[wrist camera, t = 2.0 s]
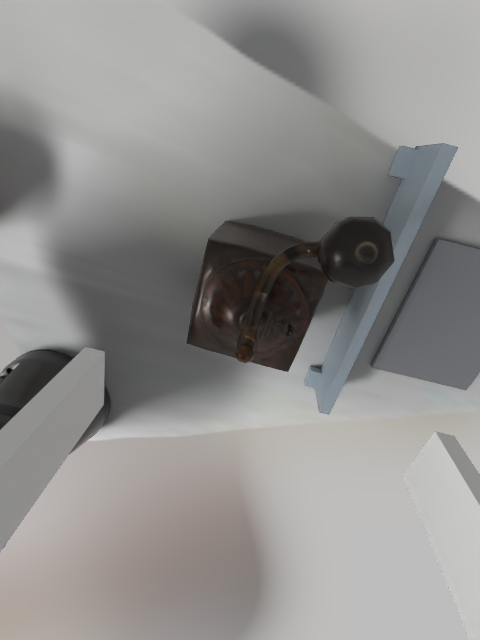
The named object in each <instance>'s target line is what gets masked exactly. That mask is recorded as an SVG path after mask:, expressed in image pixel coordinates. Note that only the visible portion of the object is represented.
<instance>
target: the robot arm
mask: <svg viewBox="0 0 480 640" xmlns="http://www.w3.org/2000/svg"><path fill="white" fill-rule="evenodd" d="M104 375H105V351H101V350H97V349H93V348H89V347H85V348H84V349H83V350H82V351H81V352H80V353H79V354H78V355H76V356H75V357H74V358H72V357H69V356H67V355H64V354H61V353H57V352H53V351H32V352H28V353H25V354H23V355H21V356H19V357H18V358H17V359H16V360H14V361H13V362H12V363H10V364H9V365H8V366H6V367H5V368H4V370H3V371H2V372H1V373H0V551H1V550H2V549H3V548H4V547H5V545H6V543H7V542H8V540H9V539H10V537H11V536H12V534H13V533H14V532H15V530H16V529H17V527H18V526H19V525H20V523H21V522H22V520H23V519H24V517H25V516H26V515H27V513H28V512H29V510H30V509H31V507H32V506H33V505H34V503H35V502H36V500H37V499H38V498H39V496H40V495H41V493H42V492H43V490H44V489H45V488H46V486H47V484H48V483H49V482H50V480H51V479H52V478H53V476H54V475H55V473H56V472H57V470H58V469H59V468H60V466H61V465H62V463H63V462H64V461H65V459H66V458H67V456H68V455H69V454H71V453H72V452H73V451H74V450H76V449H77V448H78V447H79V446H81V445H82V444H83V443H85V442H86V441H87V440H88V439H90V438H91V437H92V436H94V435H95V434H96V433H97V432H98V431H99V429H100V428H101V426H102V425H103V423H104V422H105V420H106V419H107V417H108V415H109V411H110V399H109V395H108V392H107V390H106V388H105V386H104ZM403 478H404V480H405V483H406V485H407V488H408V490H409V493H410V495H411V497H412V500H413V502H414V505H415V507H416V510H417V512H418V515H419V517H420V519H421V522H422V524H423V527H424V529H425V532H426V534H427V536H428V539H429V541H430V544H431V546H432V549H433V551H434V553H435V556H436V558H437V560H438V563H439V566H440V568H441V571H442V573H443V575H444V578H445V580H446V583H447V585H448V588H449V590H450V592H451V595H452V597H453V600H454V602H455V604H456V607H457V610H458V612H459V614H460V617H461V619H462V622H463V624H464V627H465V629H466V631H467V634H468V636H469V639H470V640H480V474H479V473H478V471H477V470H476V468H475V467H474V465H473V464H472V463H471V461H470V459H469V458H468V456H467V455H466V453H465V452H464V450H463V449H462V447H461V446H460V444H459V443H458V441H457V440H456V438H455V437H454V436H452V435H447V434H443V433H440V432H434V434H433V435H432V437H431V438H430V439H429V441H428V442H427V444H426V445H425V446H424V448H423V449H422V450H421V452H420V453H419V455H418V456H417V457H416V459H415V460H414V461H413V463H412V464H411V465H410V467H409V468H408V470H407V471H406V472H405V474H404V475H403Z"/></svg>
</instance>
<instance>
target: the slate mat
mask: <svg viewBox="0 0 480 640" xmlns="http://www.w3.org/2000/svg"><path fill="white" fill-rule="evenodd" d="M371 366H372V368H376V369H381V370H385V371H389V372H393V373H397V374H401V375H405V376H410V377H414V378H418V379H422V380H426V381H430V382H434V383H439V384H443V385H447V386H451V387H455V388H459V389H463V390H467V388H468V387H469V385H470V384H471V383H472V381H473V380H474V379H475V377H476V376H477V374H478V373H479V372H480V249H478V248H474V247H470V246H466V245H462V244H458V243H454V242H450V241H446V240H442V239H438V238H436V239H435V241H434V243H433V245H432V247H431V249H430V251H429V253H428V255H427V257H426V259H425V261H424V262H423V264H422V266H421V268H420V270H419V272H418V274H417V276H416V278H415V280H414V282H413V284H412V286H411V288H410V290H409V292H408V293H407V295H406V297H405V299H404V301H403V303H402V305H401V307H400V309H399V311H398V313H397V315H396V317H395V319H394V321H393V323H392V325H391V326H390V328H389V330H388V332H387V334H386V336H385V338H384V340H383V342H382V344H381V346H380V348H379V350H378V352H377V354H376V356H375V358H374V359H373V361H372V363H371Z"/></svg>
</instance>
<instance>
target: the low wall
mask: <svg viewBox="0 0 480 640" xmlns="http://www.w3.org/2000/svg"><path fill="white" fill-rule="evenodd" d="M457 149H458V147H455V146H451V145H448V144H443V143H442V144H433V145H424V146H416V147H415V149H414V148H410V147H406V146H399V148H398V151H397V153H396V156H395V158H394V161H393V163H392V166H391V168H390V171H389V173H388V175H390V176H394V177H398V178H402V180H401V182H400V185H399V187H398V189H397V192H396V194H395V196H394V199H393V201H392V203H391V206H390V208H389V211H388V213H387V215H386V218H385V220H384V222H383V225H384V226H385V227H386V228H388V229H389V230H390V231H391V239H392V246H393V253H394V260H395V261H394V263H393V264H392V265H391V266H390V267H389V269H388V270H387V271H386V272H385V273H384V275H383V276H382V277H381V278H380V279H379V281H378V282H376V283H374V284H372V285H368V286H364V287H360V288H355V290H354V293H353V295H352V297H351V300H350V302H349V304H348V307H347V309H346V311H345V314H344V316H343V318H342V321H341V323H340V325H339V328H338V330H337V332H336V335H335V337H334V339H333V342H332V344H331V346H330V349H329V351H328V353H327V356H326V358H325V361H324V363H323V365H322V368H321V369H320V368H315V367H311V366H310V368H309V371H308V373H307V376H306V378H305V381H304V382H305V386H308V387H312V388H315V393H316V398H317V403H318V409H319V412H320V413H324V414H330V412H331V410H332V408H333V406H334V403H335V401H336V399H337V397H338V395H339V393H340V391H341V389H342V387H343V385H344V383H345V381H346V379H347V377H348V375H349V372H350V370H351V368H352V366H353V364H354V362H355V360H356V358H357V356H358V354H359V352H360V350H361V348H362V346H363V343H364V341H365V339H366V337H367V335H368V333H369V331H370V329H371V327H372V325H373V323H374V321H375V319H376V317H377V314H378V312H379V310H380V308H381V306H382V304H383V302H384V300H385V298H386V296H387V294H388V292H389V290H390V288H391V285H392V283H393V281H394V279H395V277H396V275H397V273H398V271H399V269H400V267H401V265H402V263H403V261H404V259H405V256H406V254H407V252H408V250H409V248H410V246H411V244H412V242H413V240H414V238H415V236H416V234H417V232H418V230H419V228H420V225H421V223H422V221H423V219H424V217H425V215H426V213H427V211H428V209H429V207H430V205H431V203H432V201H433V199H434V196H435V194H436V192H437V190H438V188H439V186H440V184H441V182H442V180H443V178H444V176H445V174H446V172H447V170H448V167H449V165H450V163H451V161H452V159H453V157H454V155H455V153H456V151H457Z"/></svg>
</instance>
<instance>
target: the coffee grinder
mask: <svg viewBox="0 0 480 640" xmlns="http://www.w3.org/2000/svg"><path fill="white" fill-rule="evenodd" d="M394 261H395V260H394V253H393V246H392V239H391V231H390V230H389V229H388V228H386V227H385V226H384V225H383V224H381V223H380V222H379V221H378V220H376V219H375V218H374V217H348V218H345V219H343V220H341V221H339V222H337V223H335V225H334V226H333V227H332V228H331V230H330V231H329V232H328V233H327V234H326V235H325V236H324V237H323V238H322V239H321V240H320V241H317V242H304V241H301V240H299V239H296V238H294V237H291V236H287V235H284V234H280V233H277V232H274V231H270V230H267V229H263V228H260V227H256V226H253V225H246V224H239V223H233V222H227V221H225V222H224V223H223V224H222V225H221V226H220V227H219V228H218V229H217V230H216V231H215V232H214V233H213V234H212V235H211V237H210V238H209V239H208V243H207V247H206V251H205V255H204V259H203V263H202V267H201V271H200V276H199V280H198V285H197V289H196V293H195V298H194V302H193V307H192V313H191V320H190V326H189V332H188V339H187V343H188V344H191V345H194V346H197V347H200V348H203V349H206V350H210V351H213V352H217V353H221V354H225V355H228V356H232V357H235V358H237V360H238V361H240V362H243V363H247V362H253V363H256V364H260V365H263V366H267V367H271V368H275V369H278V370H282V371H287V372H288V371H289V369H290V366H291V364H292V362H293V360H294V358H295V356H296V354H297V352H298V350H299V348H300V345H301V343H302V341H303V339H304V336H305V334H306V332H307V330H308V327H309V325H310V323H311V320H312V318H313V315H314V313H315V311H316V308H317V306H318V304H319V301H320V299H321V297H322V294H323V291H324V288H325V285H326V283H327V280H328V279H329V280H330V281H332V282H335V283H337V284H340V285H343V286H345V287H348V288H350V289H355V288H360V287H364V286H368V285H372V284H374V283H376V282H378V281H379V279H380V278H381V277H382V276H383V275H384V273H385V272H386V271H387V270H388V269H389V267H390V266H391V265H392V264H393V263H394Z"/></svg>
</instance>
